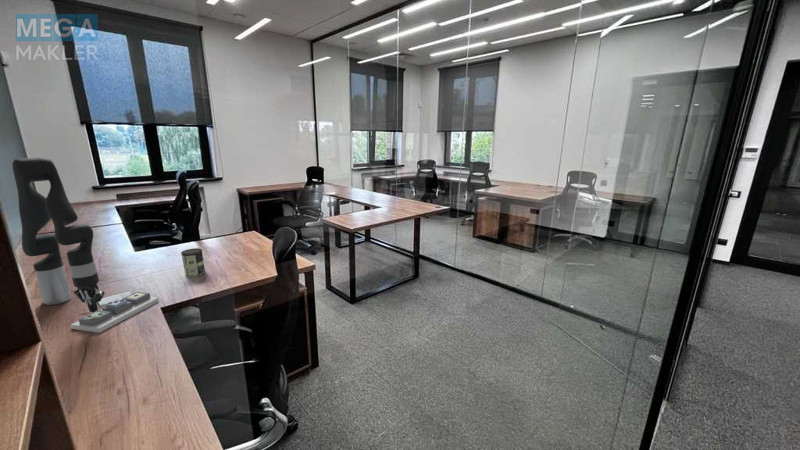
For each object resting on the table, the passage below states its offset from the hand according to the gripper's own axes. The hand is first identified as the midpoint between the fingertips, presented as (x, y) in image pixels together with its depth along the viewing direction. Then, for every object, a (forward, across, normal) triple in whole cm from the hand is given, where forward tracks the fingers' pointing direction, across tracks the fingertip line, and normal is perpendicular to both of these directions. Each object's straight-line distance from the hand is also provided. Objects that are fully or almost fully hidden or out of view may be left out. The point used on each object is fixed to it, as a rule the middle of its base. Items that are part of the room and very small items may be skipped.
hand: (93, 311), depth 134 cm
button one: (+4, 0, +18) cm, 18 cm away
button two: (+4, 0, 0) cm, 4 cm away
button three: (+3, 0, +9) cm, 9 cm away
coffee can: (+7, -2, +55) cm, 55 cm away
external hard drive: (+7, -14, +20) cm, 25 cm away
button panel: (+6, 0, +9) cm, 11 cm away
